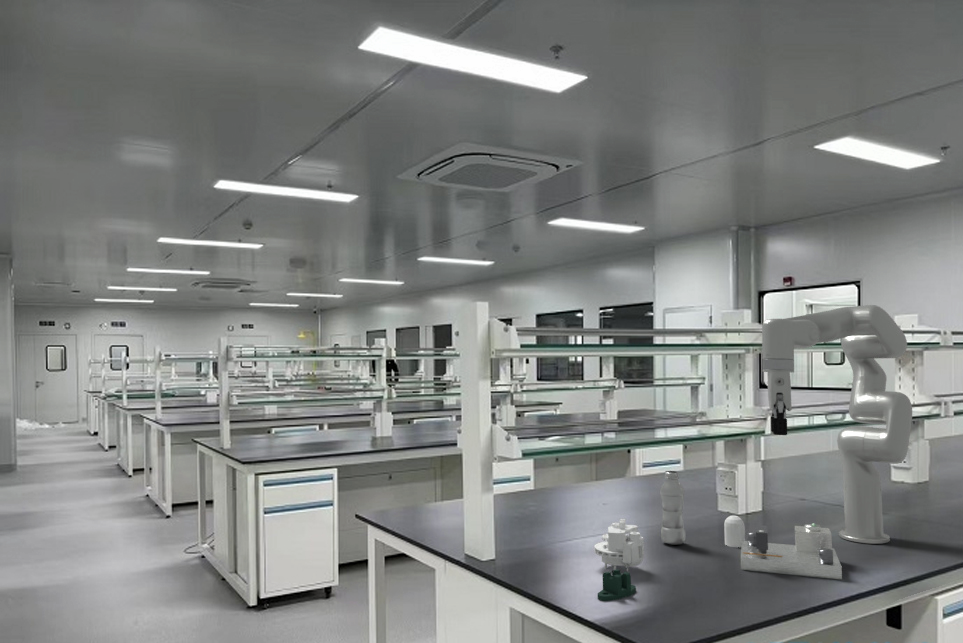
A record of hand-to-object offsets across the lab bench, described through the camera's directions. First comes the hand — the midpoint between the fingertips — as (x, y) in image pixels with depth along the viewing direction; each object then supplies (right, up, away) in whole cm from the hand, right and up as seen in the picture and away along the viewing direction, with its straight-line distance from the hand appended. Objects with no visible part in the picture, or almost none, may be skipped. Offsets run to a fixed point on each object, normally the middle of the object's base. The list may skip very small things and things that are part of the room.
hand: (778, 433), depth 173 cm
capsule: (-6, -34, +14) cm, 37 cm away
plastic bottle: (-23, -34, +16) cm, 44 cm away
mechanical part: (-42, -33, -6) cm, 54 cm away
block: (-7, -29, -6) cm, 30 cm away
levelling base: (+1, -32, -4) cm, 32 cm away
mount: (-46, -32, -24) cm, 61 cm away
